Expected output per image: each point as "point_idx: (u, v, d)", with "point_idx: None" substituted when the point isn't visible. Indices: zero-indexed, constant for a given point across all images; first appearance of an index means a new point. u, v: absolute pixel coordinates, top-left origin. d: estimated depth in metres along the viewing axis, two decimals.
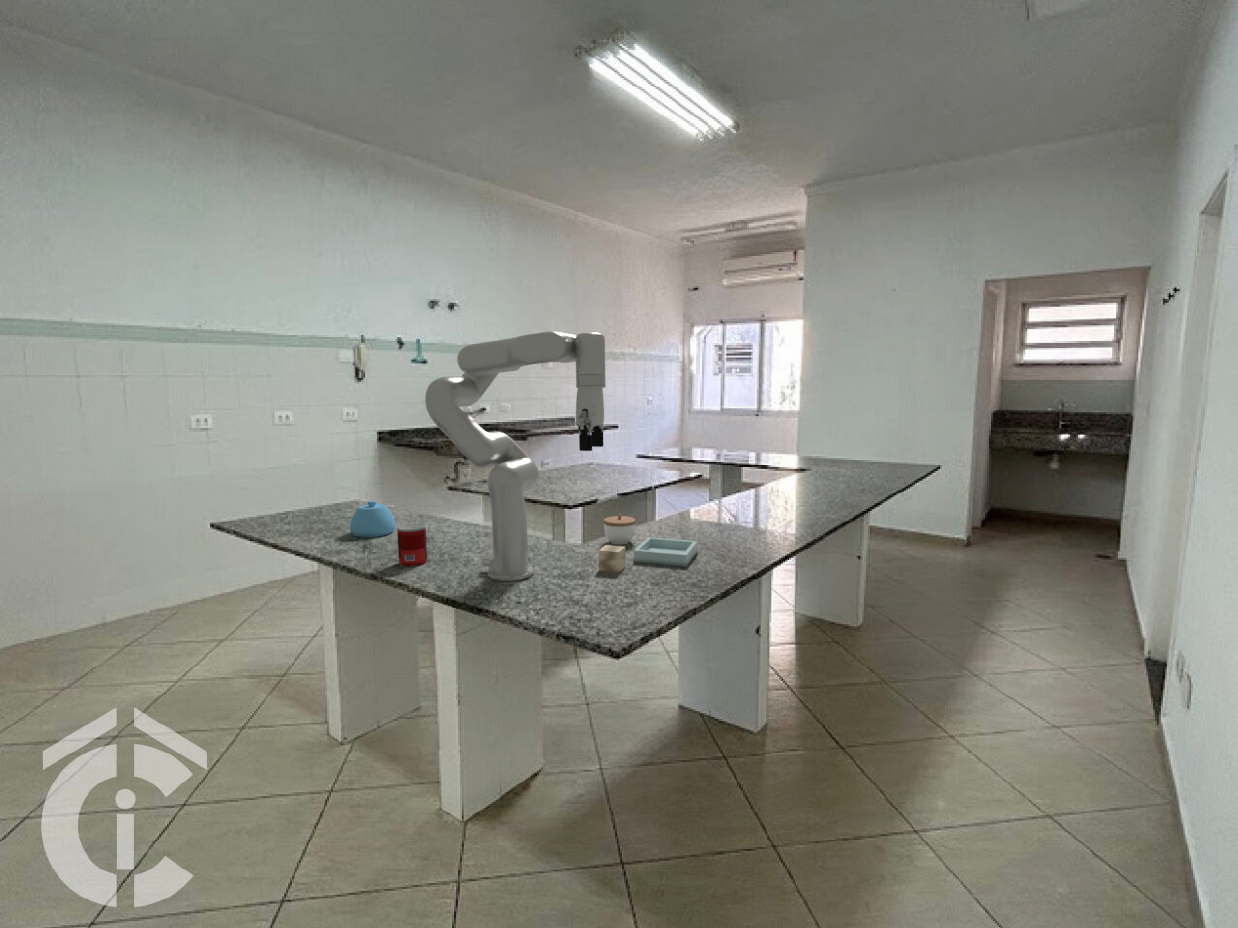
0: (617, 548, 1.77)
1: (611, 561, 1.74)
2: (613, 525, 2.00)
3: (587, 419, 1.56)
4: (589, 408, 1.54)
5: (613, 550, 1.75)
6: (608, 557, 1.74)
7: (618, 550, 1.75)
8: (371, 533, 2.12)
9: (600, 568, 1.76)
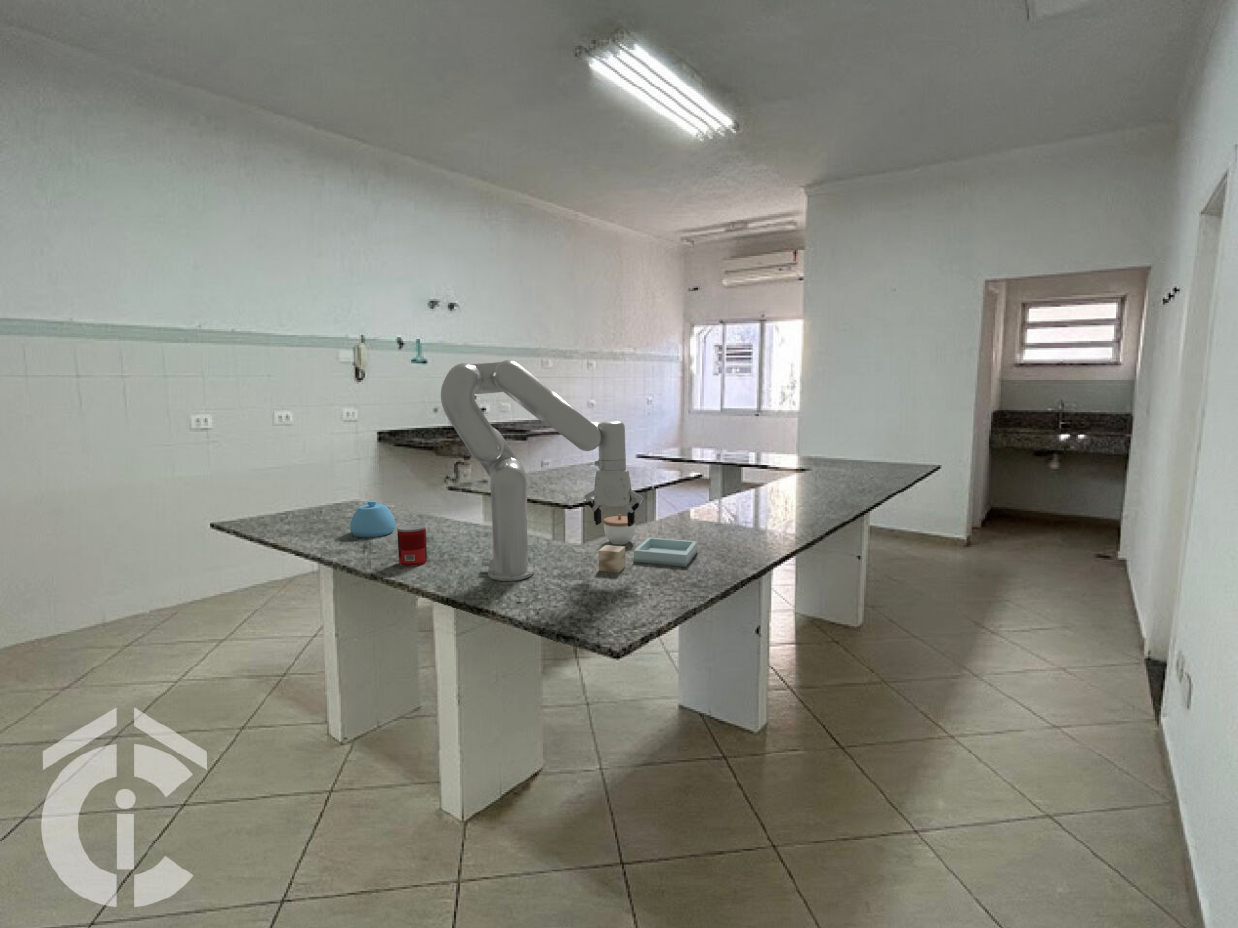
0: (617, 548, 1.77)
1: (611, 561, 1.74)
2: (613, 525, 2.00)
3: None
4: None
5: (613, 550, 1.75)
6: (608, 557, 1.74)
7: (618, 550, 1.75)
8: (371, 533, 2.12)
9: (600, 568, 1.76)
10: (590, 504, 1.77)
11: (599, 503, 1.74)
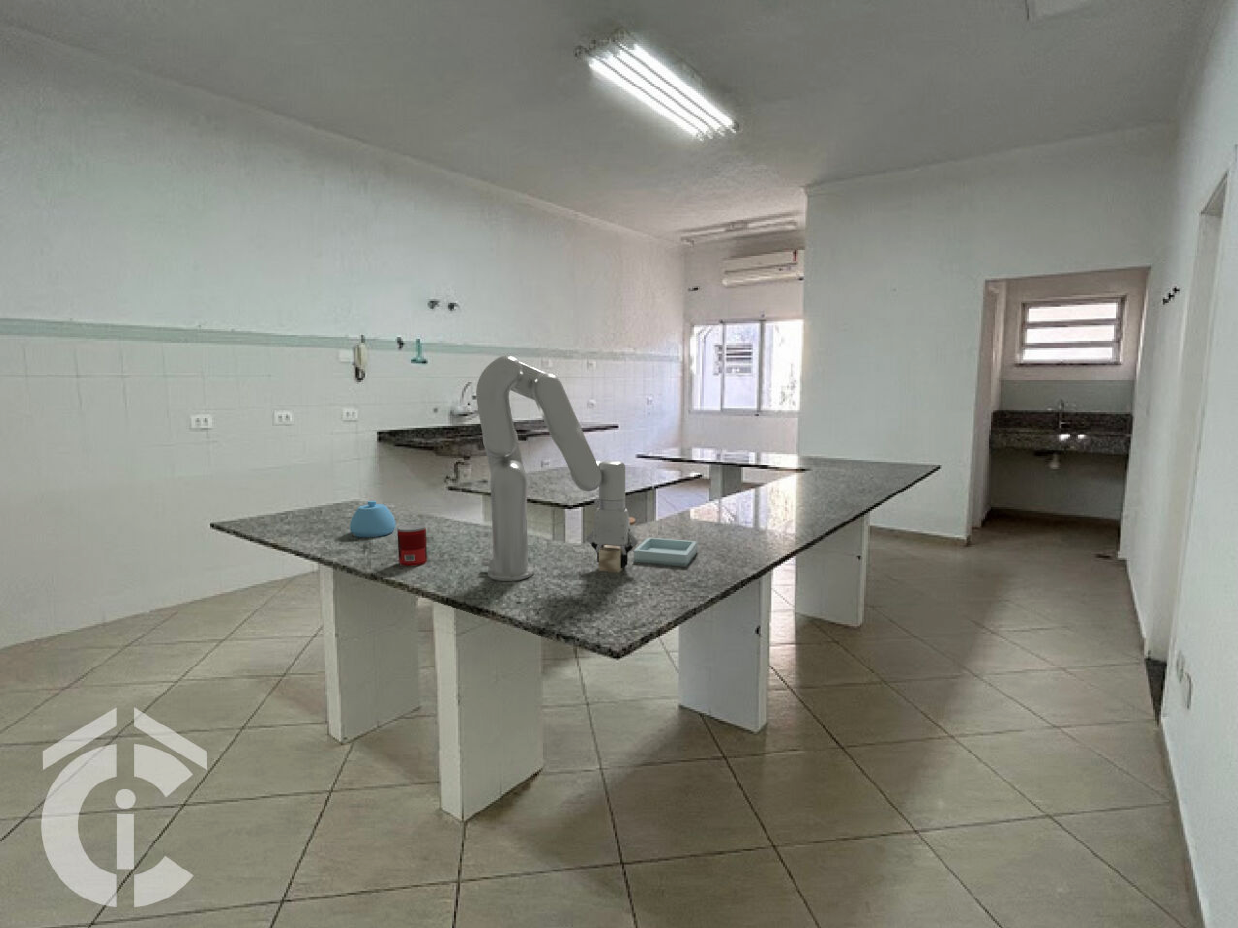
0: (617, 547, 1.77)
1: (611, 561, 1.74)
2: None
3: None
4: (629, 527, 1.76)
5: (613, 550, 1.75)
6: (608, 557, 1.74)
7: (618, 550, 1.75)
8: (371, 533, 2.12)
9: (600, 568, 1.76)
10: (594, 545, 1.78)
11: (598, 542, 1.75)
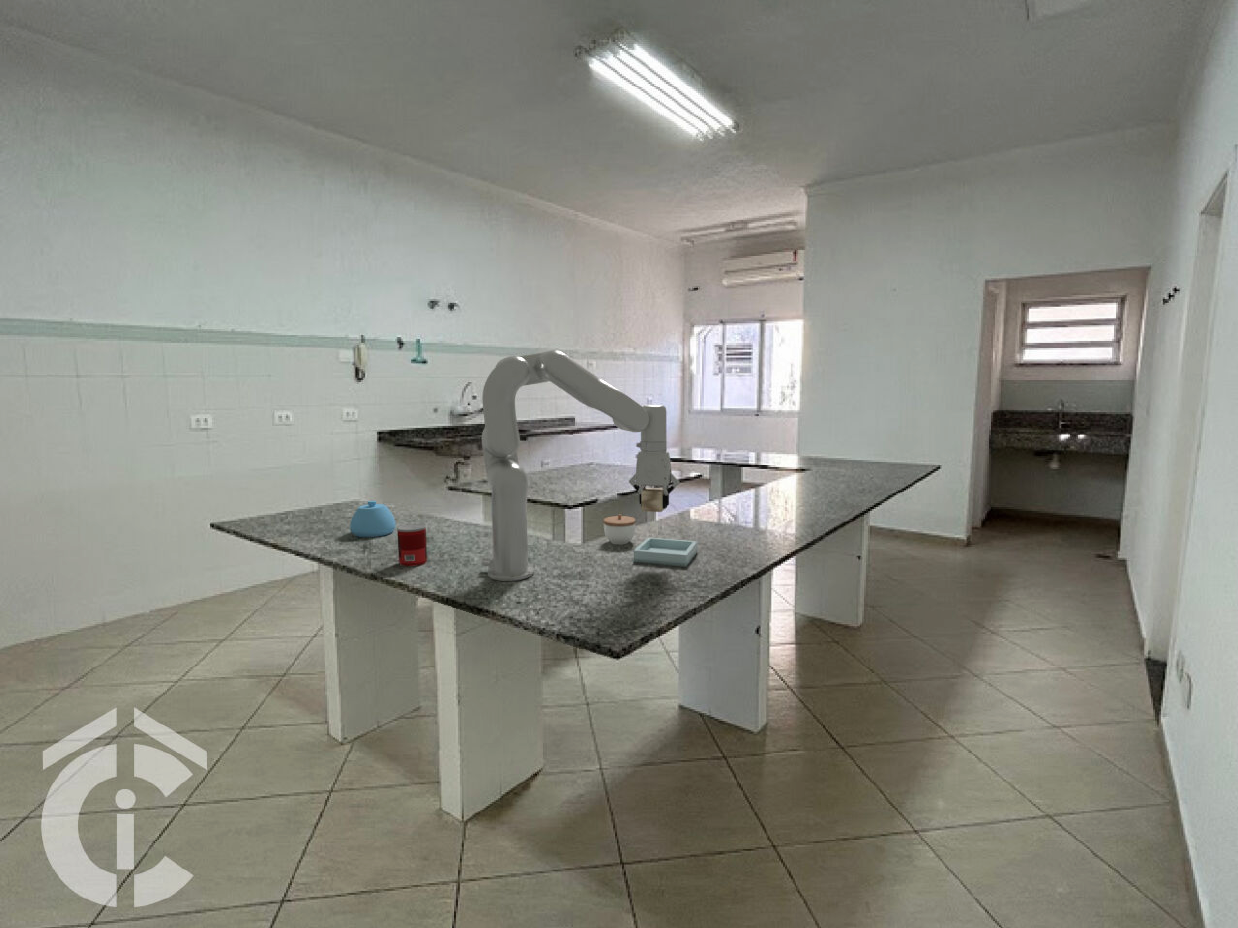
0: (658, 489, 1.83)
1: (654, 501, 1.80)
2: (613, 525, 2.00)
3: None
4: None
5: (655, 490, 1.81)
6: (650, 497, 1.81)
7: (660, 490, 1.81)
8: (371, 533, 2.12)
9: (643, 508, 1.82)
10: (636, 487, 1.84)
11: (640, 483, 1.81)
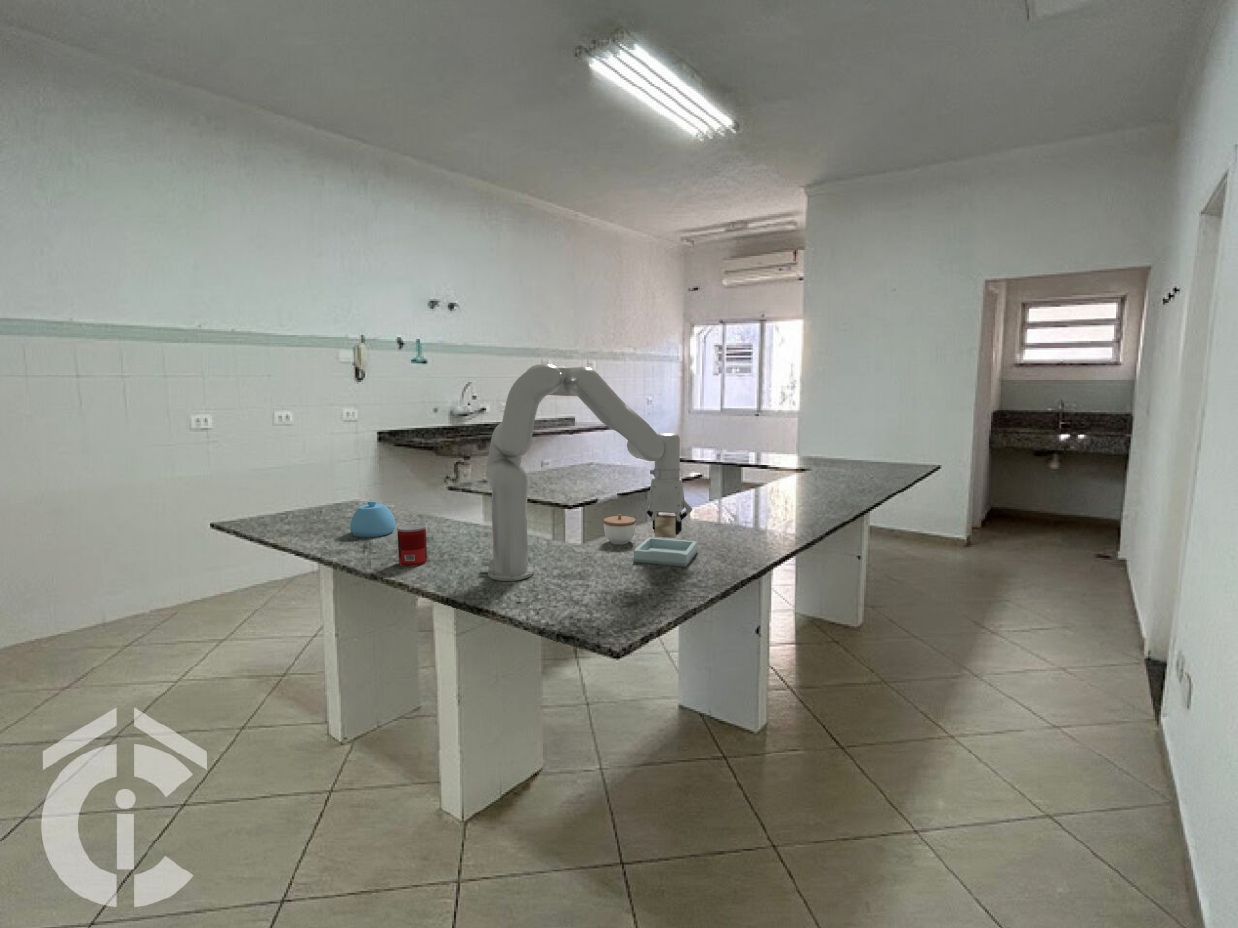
0: (671, 515, 1.88)
1: (667, 527, 1.85)
2: (613, 525, 2.00)
3: None
4: None
5: (668, 517, 1.85)
6: (664, 523, 1.85)
7: (673, 517, 1.85)
8: (371, 533, 2.12)
9: (656, 534, 1.86)
10: (649, 513, 1.88)
11: (654, 509, 1.85)
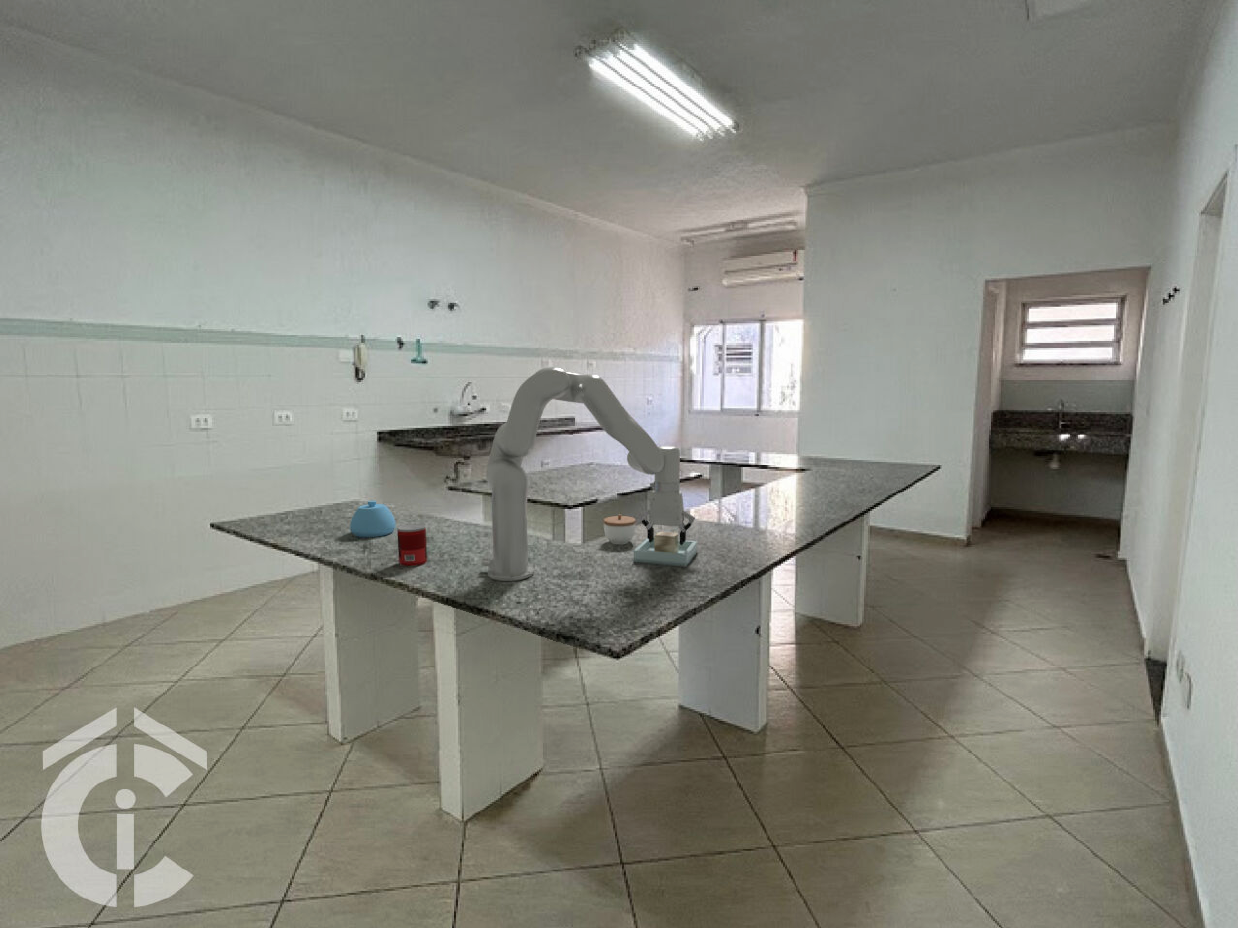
0: (671, 534, 1.88)
1: (666, 546, 1.85)
2: (613, 525, 2.00)
3: None
4: (683, 508, 1.87)
5: (668, 536, 1.86)
6: (663, 542, 1.85)
7: (673, 536, 1.86)
8: (371, 533, 2.12)
9: None
10: (644, 523, 1.89)
11: (653, 522, 1.86)
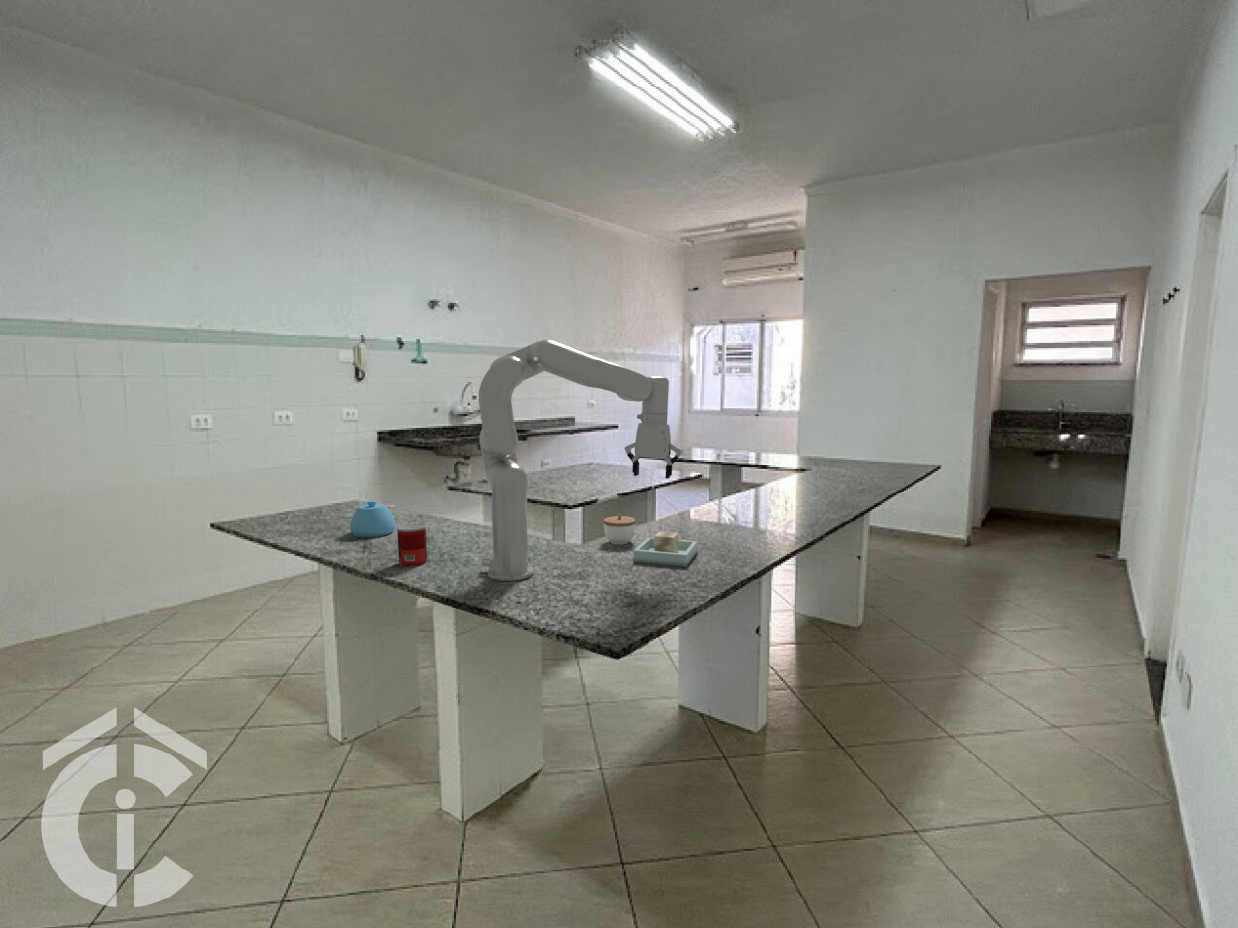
0: (671, 534, 1.88)
1: (666, 546, 1.85)
2: (613, 525, 2.00)
3: None
4: (670, 441, 1.81)
5: (668, 536, 1.86)
6: (663, 542, 1.85)
7: (673, 536, 1.86)
8: (371, 533, 2.12)
9: None
10: (630, 456, 1.83)
11: (639, 454, 1.81)
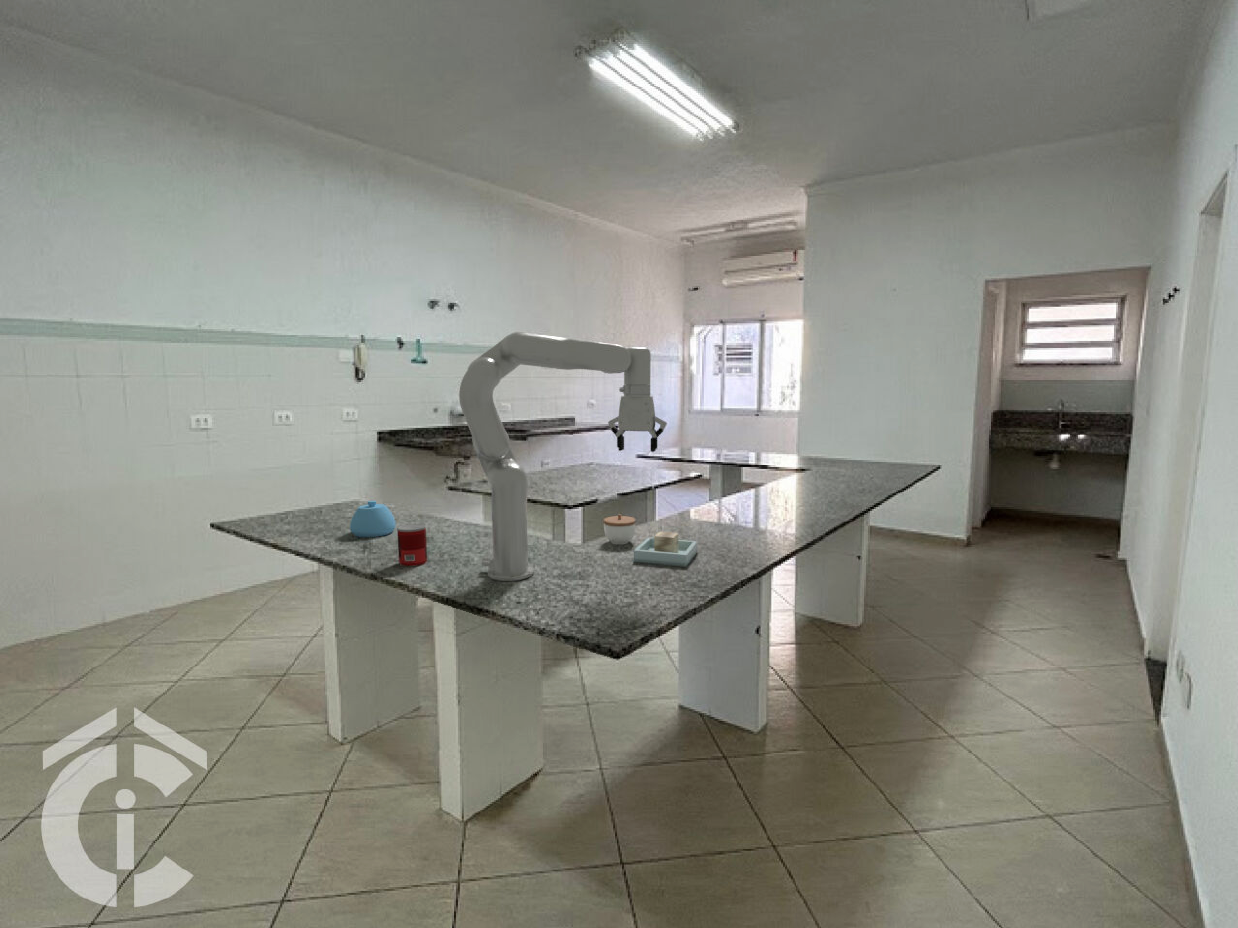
0: (671, 534, 1.88)
1: (666, 546, 1.85)
2: (613, 525, 2.00)
3: None
4: (654, 414, 1.77)
5: (668, 536, 1.86)
6: (663, 542, 1.85)
7: (673, 536, 1.86)
8: (371, 533, 2.12)
9: None
10: (614, 430, 1.80)
11: (623, 428, 1.77)
